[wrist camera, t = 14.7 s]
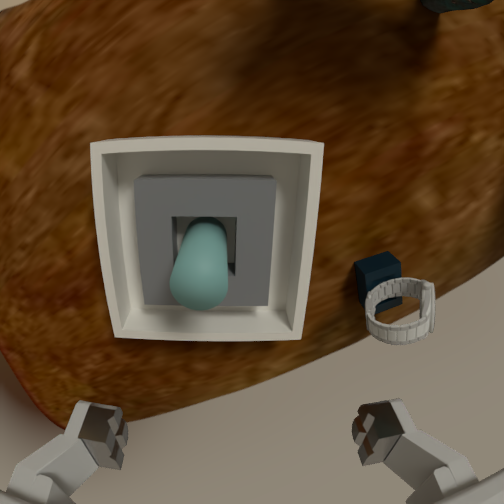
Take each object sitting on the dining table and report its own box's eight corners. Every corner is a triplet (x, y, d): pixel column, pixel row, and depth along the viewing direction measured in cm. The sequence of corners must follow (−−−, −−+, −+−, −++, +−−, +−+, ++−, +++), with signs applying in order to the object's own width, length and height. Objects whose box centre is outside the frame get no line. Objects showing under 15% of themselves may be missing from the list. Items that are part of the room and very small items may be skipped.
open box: (308, 140, 29) (323, 143, 24) (291, 312, 36) (300, 339, 31) (110, 139, 27) (90, 142, 22) (126, 311, 34) (114, 337, 30)
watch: (404, 285, 36) (452, 337, 26) (345, 306, 36) (382, 367, 26) (402, 245, 34) (457, 290, 24) (339, 265, 34) (380, 322, 24)
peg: (226, 216, 30) (228, 258, 21) (226, 255, 32) (228, 310, 22) (184, 215, 30) (167, 258, 21) (186, 255, 31) (171, 310, 22)
